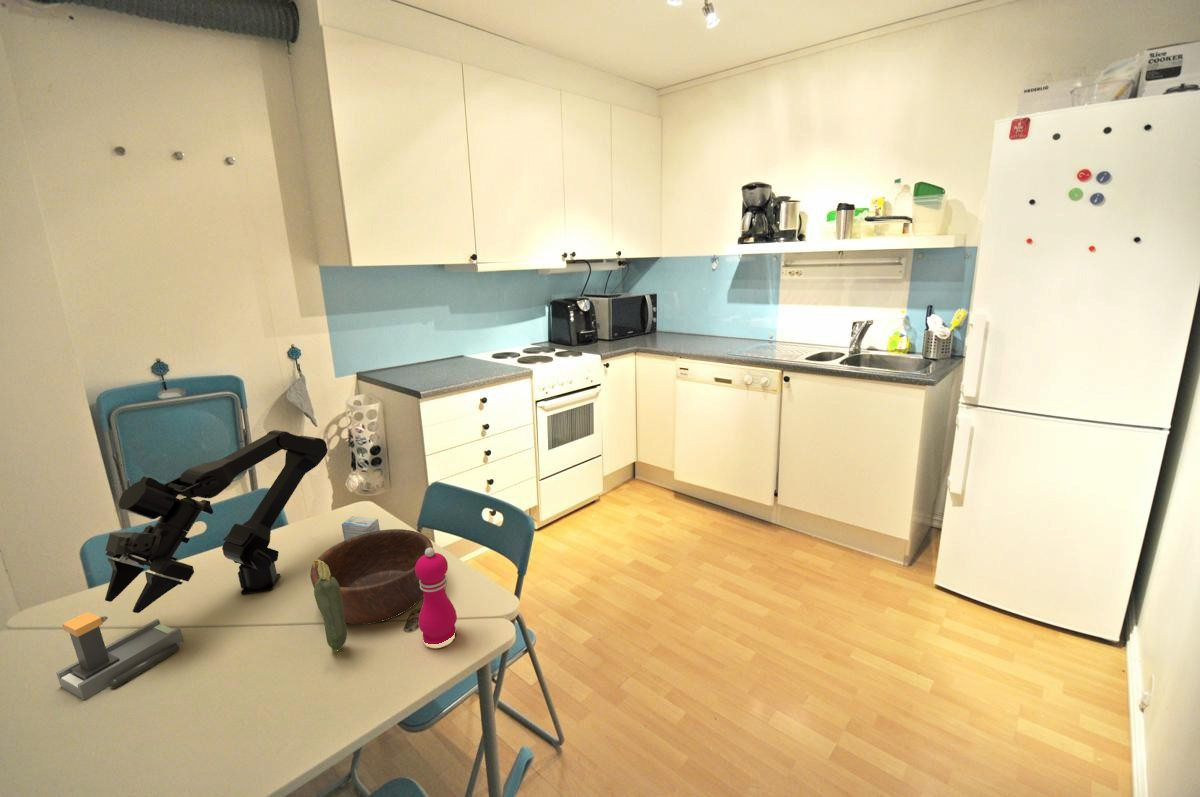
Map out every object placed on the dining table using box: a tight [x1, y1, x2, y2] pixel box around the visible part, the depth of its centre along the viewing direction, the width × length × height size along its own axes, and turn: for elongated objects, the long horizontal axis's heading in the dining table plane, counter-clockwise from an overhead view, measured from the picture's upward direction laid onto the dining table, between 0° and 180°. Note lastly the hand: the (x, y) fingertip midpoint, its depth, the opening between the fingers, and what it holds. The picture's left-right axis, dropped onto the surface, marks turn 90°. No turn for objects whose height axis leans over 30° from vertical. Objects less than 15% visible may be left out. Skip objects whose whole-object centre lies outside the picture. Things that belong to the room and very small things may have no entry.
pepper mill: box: [415, 547, 458, 644], centre depth 105 cm, size 7×7×20 cm
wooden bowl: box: [310, 528, 434, 625], centre depth 120 cm, size 25×25×10 cm
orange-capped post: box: [61, 611, 120, 680], centre depth 98 cm, size 5×5×10 cm
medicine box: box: [341, 515, 381, 541], centre depth 140 cm, size 8×4×9 cm, turn 77°
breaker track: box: [56, 618, 185, 701], centre depth 103 cm, size 16×13×3 cm
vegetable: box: [312, 559, 348, 652], centre depth 102 cm, size 4×4×20 cm
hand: (121, 606), depth 102 cm, fingers open, 9 cm apart
